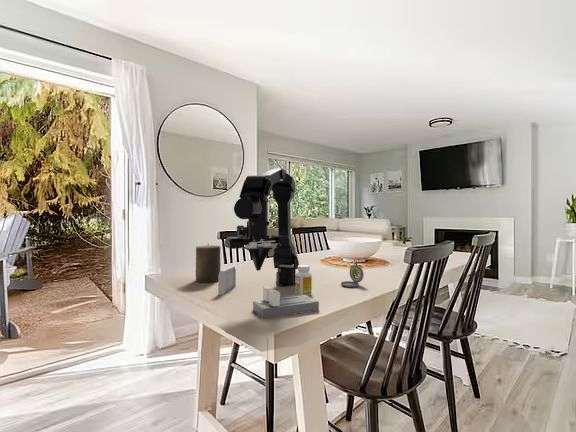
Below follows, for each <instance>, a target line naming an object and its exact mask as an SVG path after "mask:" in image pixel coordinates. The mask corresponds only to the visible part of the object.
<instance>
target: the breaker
mask: <svg viewBox="0 0 576 432" xmlns="http://www.w3.org/2000/svg"><path fill="white" fill-rule="evenodd" d="M271 290H274V288H273V287H271V286H270V285H266V286H262V300H265V301H266V302H268V301H269V291H271Z"/></svg>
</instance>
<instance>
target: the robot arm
mask: <svg viewBox="0 0 576 432" xmlns="http://www.w3.org/2000/svg"><path fill="white" fill-rule="evenodd" d="M296 187H297V185H296V182H295V180H294V178H293V176H292V175H290V174H289V173H287V172H286V169H285V168H283V167H279V168H278V167H277V168H275V167H274V168H270V169H269V170H268V171H266V172H264V173H262V174H260V175H247V176H246V178H245V180H244V181H243V184H242V186H241V190H240V193H239V197H238V198H239V199H237V201H235V203H234V205H233V212H234V215H235V216H236V217H237V218H239V219H240V220H247V221H246V226H244V225H237V226H236V236H227V237H226V238H225V240H224V247H225V248H227V249H229V250H230V249H231V250H234V249H242V248H243V249H244V250H247V251H248V253H249V254H250V257H251V258H252V261H253V264H254V267H255V270H256V271H258V272H259V271H261V269H262V267H263V265H264V262H265V260H266V259H267V256H268V254H269V252H270V251H271V250H273V256H272V260H273V261H272V262H273V268H274V269H277V271H276V275H275V276H276V278H275V279H276V281H275V284H277V285H278V286H281V287H286V286H287V287H288V286H296V273H297V271H296V270H298V266H299V265H300V261H299V258H298V255H297V253H296V247H295V246H294V244H293V242H292V240H291V239H292V235H291V234H292V233H291V231H292V230H291V202H292V201H293V198H294V197H295V192H296ZM271 192H272V197H273V199H274V200H275V202H276V203H277V229H278V231H277V233H278V234H272V235H268V234H269V233H268V232H269V231H268V229H269V227H268V226H270V221H268V218H269V217H268V215H269V214H268V209H269V208H268V203H269V202H270V201H269V198H268V197H269V196H270V195H271ZM270 236H271V237H270ZM272 244H274V245H276V246H275V247H272ZM273 248H274V249H273Z"/></svg>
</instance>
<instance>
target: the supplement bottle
mask: <svg viewBox="0 0 576 432" xmlns="http://www.w3.org/2000/svg"><path fill="white" fill-rule="evenodd" d="M312 276H313V275H312V273H311V272H310V265H308V264H299V266H298V269H297V271H296V281H295V282H296V285H295V296H300V295H307V296H309V297H311V295H312V294H313V293H312V283H313V282H312V280H313V279H312V278H313V277H312Z"/></svg>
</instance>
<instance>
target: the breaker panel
mask: <svg viewBox="0 0 576 432" xmlns="http://www.w3.org/2000/svg"><path fill="white" fill-rule="evenodd" d="M252 310H253V312H255V313H256V314H257V315H258V316H259V317H260V318H261V319H270V318H276V317H282V316H283V317H284V316H289V315H290V314H291V315H296V314H295V313H297V314H302V313H301V312H304V313H310V312H309V311H311V312H316V311H315V310H318V311H319V310H320V302H319V301H318V300H316V299H315V298H312V297H311V296H307V295H300V296H298V295H294V296H285V297H280V306H272V305H270V304H269V301H268V302H266V301H265V300H264V299H261V300H253V301H252Z"/></svg>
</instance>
